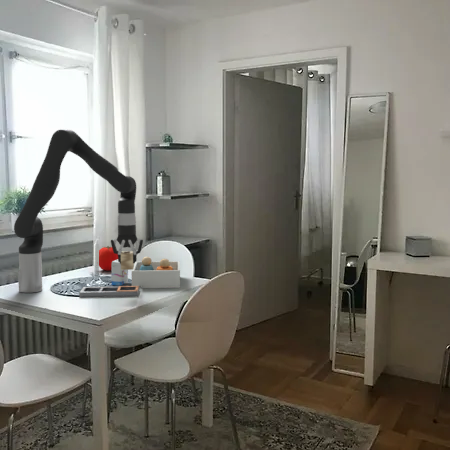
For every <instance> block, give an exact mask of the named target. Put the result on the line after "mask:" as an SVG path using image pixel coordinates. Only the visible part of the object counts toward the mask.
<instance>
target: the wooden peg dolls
mask: <svg viewBox="0 0 450 450" xmlns="http://www.w3.org/2000/svg"><path fill="white" fill-rule="evenodd" d="M169 261H170V260H169V259H168V258H162V259H161V260H159V262H160V266H159V267H157V269H156V270H173V268H172V267H171V266H169V265H170V262H169ZM141 262H142V264H143V265H141V267H140V271H145V270H154V269H153V266H152V265H150V264H151V262H153V261H152V258H151V257H150V256H144V257H143V258H142V259H141Z"/></svg>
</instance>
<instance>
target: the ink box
mask: <svg viewBox="0 0 450 450" xmlns="http://www.w3.org/2000/svg"><path fill="white" fill-rule="evenodd" d="M128 275H129V270H121V264H120V262H118V259H117V260H115V261H112V270H111V286H122V285H123V286H124V284H128V283H129V276H128Z"/></svg>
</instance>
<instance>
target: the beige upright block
mask: <svg viewBox="0 0 450 450" xmlns="http://www.w3.org/2000/svg"><path fill="white" fill-rule="evenodd" d="M134 264H135V263H133V251H132V250H126V251H123V250H122V252H121V270H128V271H129V270H130V271H132V270H133V268H134Z"/></svg>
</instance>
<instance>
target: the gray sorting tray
mask: <svg viewBox="0 0 450 450" xmlns="http://www.w3.org/2000/svg"><path fill="white" fill-rule="evenodd" d="M78 295H79V298H111V297H112V298H116V297H117V298H118V297H121V298H122V297H138V296H139V295H140V286H132V285H123V286H122V285H111V286H83V287H82V289H81V290H80V291H79V294H78Z"/></svg>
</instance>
